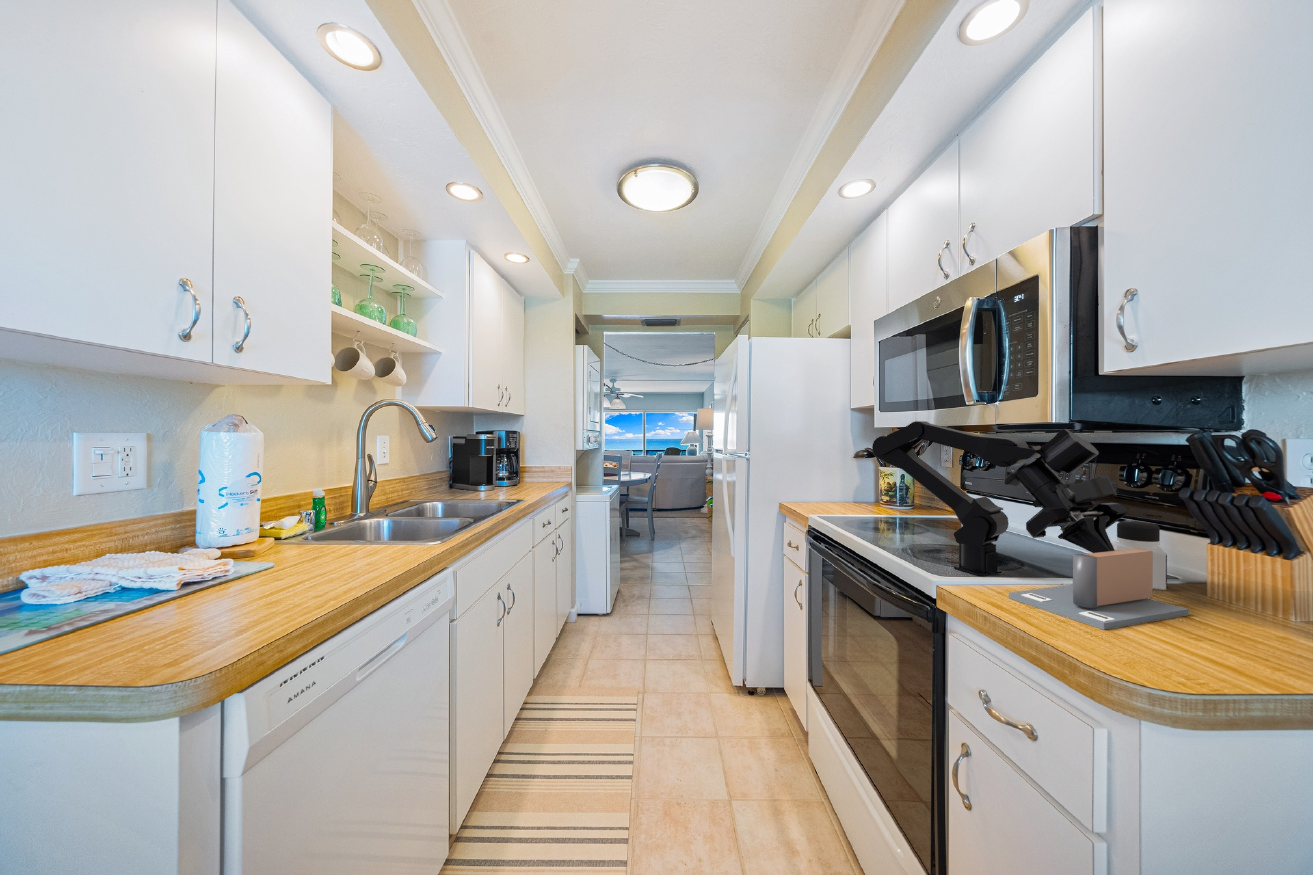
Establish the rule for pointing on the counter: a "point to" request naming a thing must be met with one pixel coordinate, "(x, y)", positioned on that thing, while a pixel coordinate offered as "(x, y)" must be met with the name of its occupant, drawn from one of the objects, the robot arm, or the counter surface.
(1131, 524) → the medicine bottle
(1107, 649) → the counter surface
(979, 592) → the counter surface
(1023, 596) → the label board
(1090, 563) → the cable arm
